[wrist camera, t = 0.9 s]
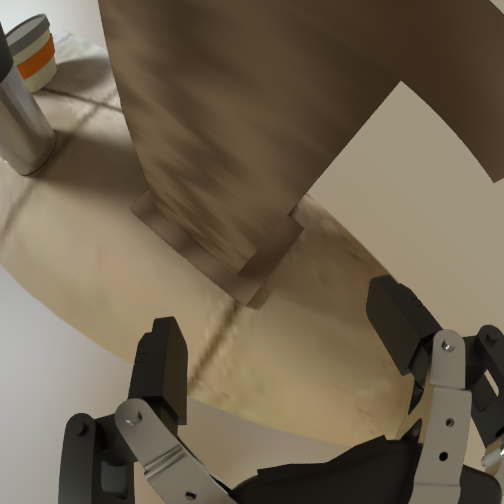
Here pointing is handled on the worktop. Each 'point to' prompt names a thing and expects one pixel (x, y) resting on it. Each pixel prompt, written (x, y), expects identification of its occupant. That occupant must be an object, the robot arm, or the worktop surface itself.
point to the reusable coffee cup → (33, 51)
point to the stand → (283, 107)
